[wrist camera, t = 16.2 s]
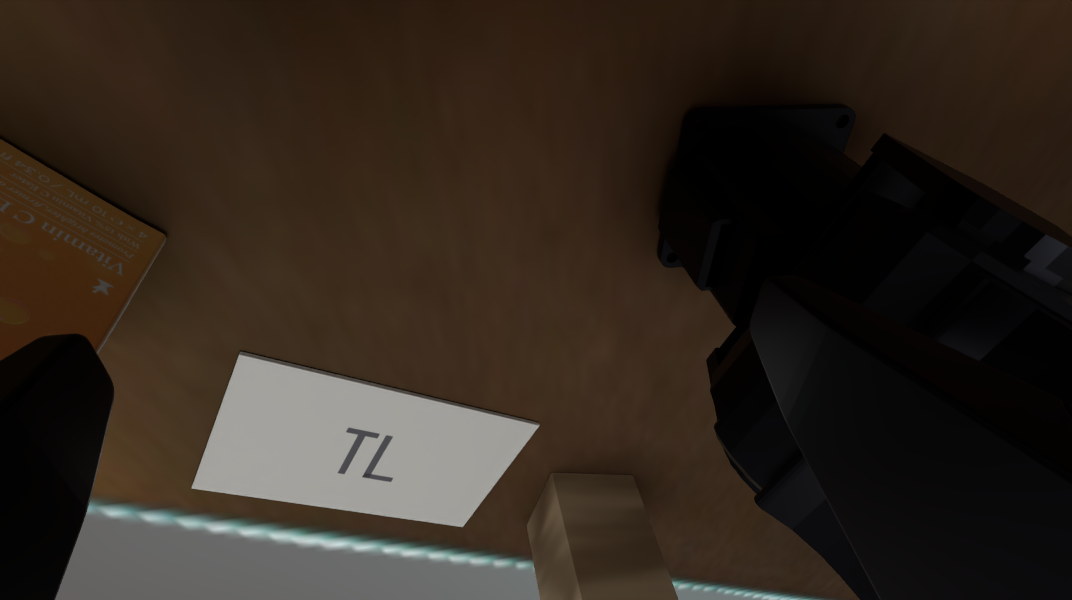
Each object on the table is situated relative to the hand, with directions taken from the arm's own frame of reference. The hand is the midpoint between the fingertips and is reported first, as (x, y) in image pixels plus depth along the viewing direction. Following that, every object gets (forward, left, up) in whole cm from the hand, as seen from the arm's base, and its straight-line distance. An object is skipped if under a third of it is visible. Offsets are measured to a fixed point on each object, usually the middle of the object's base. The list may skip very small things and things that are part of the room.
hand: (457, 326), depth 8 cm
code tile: (+4, +18, -13) cm, 23 cm away
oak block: (-7, +25, -13) cm, 29 cm away
